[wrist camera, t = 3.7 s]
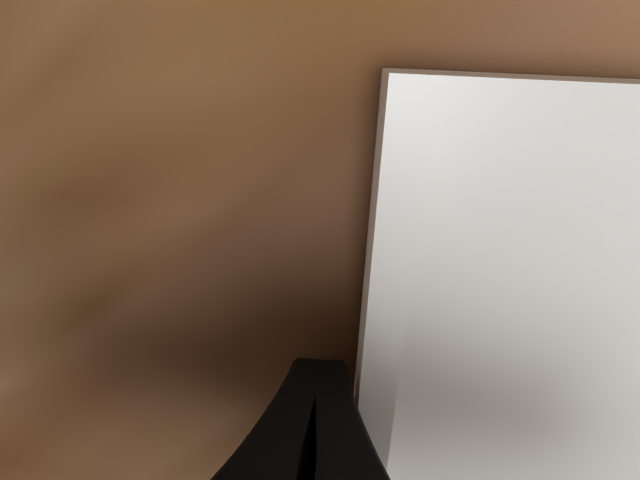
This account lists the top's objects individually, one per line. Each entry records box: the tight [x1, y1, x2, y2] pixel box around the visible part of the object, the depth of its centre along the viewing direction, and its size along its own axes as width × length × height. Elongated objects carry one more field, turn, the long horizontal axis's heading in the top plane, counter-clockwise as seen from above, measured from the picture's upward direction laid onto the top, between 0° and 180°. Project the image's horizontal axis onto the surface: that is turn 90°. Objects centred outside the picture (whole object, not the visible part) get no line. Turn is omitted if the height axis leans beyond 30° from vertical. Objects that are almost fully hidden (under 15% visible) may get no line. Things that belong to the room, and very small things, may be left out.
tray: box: [353, 68, 640, 480], centre depth 11 cm, size 12×15×2 cm
